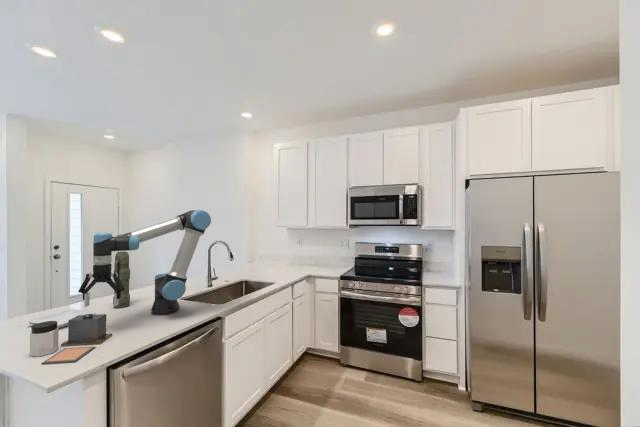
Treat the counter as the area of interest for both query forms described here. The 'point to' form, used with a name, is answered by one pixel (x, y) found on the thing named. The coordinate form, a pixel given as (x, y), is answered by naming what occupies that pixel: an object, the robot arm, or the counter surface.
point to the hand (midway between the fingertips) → (101, 305)
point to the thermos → (122, 278)
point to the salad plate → (61, 317)
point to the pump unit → (87, 330)
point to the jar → (44, 338)
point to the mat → (69, 355)
